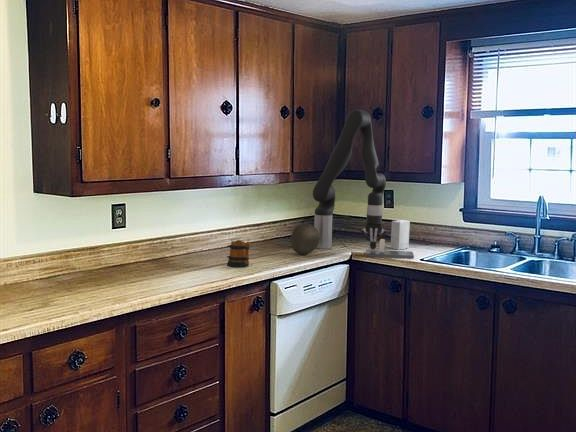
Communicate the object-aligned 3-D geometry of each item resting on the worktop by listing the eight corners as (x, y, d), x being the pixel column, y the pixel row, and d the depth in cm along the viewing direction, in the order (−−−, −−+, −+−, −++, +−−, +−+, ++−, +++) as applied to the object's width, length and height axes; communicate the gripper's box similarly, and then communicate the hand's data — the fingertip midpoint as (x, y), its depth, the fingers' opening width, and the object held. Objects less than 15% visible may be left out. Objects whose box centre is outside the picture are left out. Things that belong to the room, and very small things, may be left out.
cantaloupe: (289, 256, 305) (290, 225, 303) (290, 251, 319) (291, 221, 317) (319, 257, 305) (320, 226, 303) (319, 252, 319) (320, 222, 317)
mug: (221, 265, 282) (221, 239, 280) (239, 262, 289) (240, 237, 287) (240, 269, 272) (240, 243, 271) (258, 267, 279) (258, 241, 278)
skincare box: (400, 247, 342) (401, 219, 340) (409, 248, 337) (410, 220, 335) (389, 248, 336) (391, 220, 335) (398, 250, 332) (400, 221, 330)
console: (365, 256, 311) (366, 245, 311) (365, 252, 323) (366, 241, 322) (413, 258, 308) (414, 247, 308) (412, 254, 320) (412, 243, 320)
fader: (379, 252, 314) (379, 239, 313) (379, 251, 317) (379, 238, 316) (384, 252, 313) (384, 240, 313) (384, 251, 316) (384, 239, 316)
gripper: (360, 214, 310) (359, 249, 312) (388, 215, 309) (386, 251, 311) (360, 212, 318) (359, 247, 320) (387, 213, 316) (386, 248, 318)
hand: (372, 248), depth 315 cm, fingers closed
